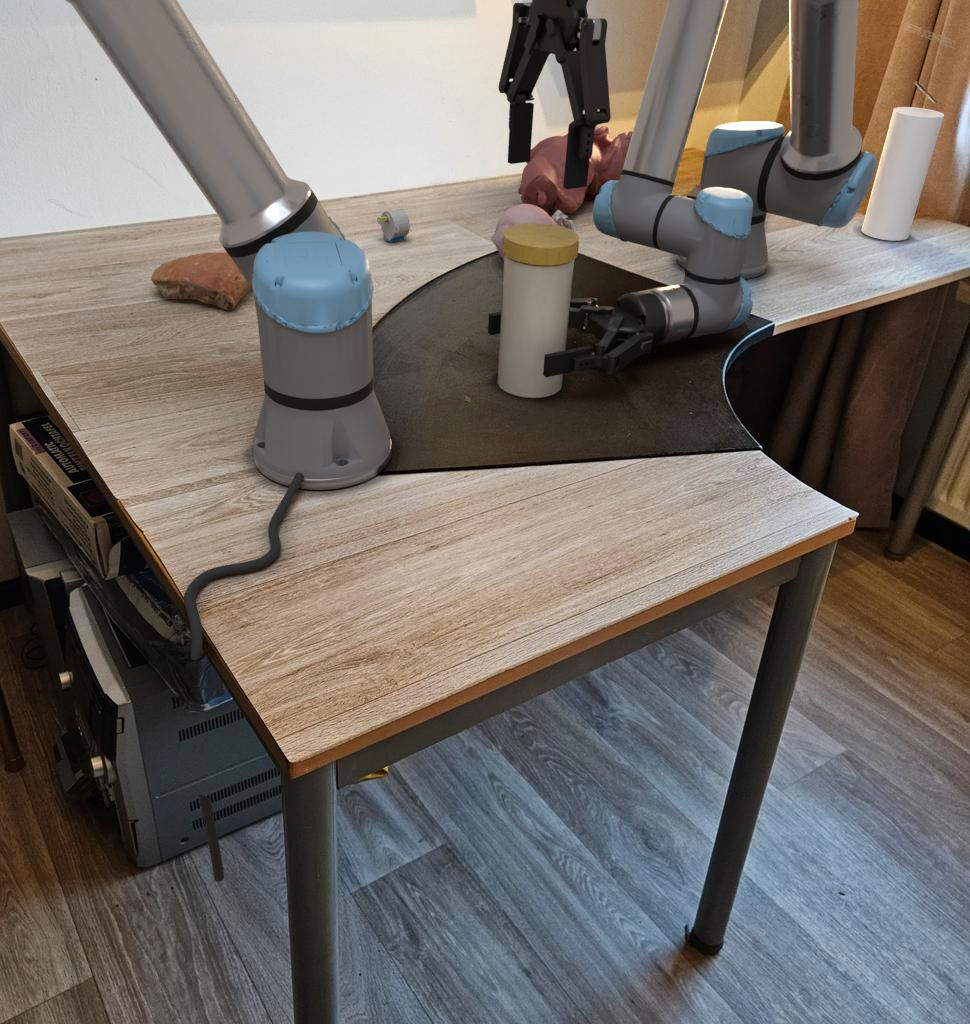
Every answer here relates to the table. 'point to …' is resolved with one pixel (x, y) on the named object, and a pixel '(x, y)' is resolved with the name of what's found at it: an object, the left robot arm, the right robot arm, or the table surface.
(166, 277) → the ceramic shard
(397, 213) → the electric motor
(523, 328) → the jar
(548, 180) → the reddish pink figurine
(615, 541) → the table surface
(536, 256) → the lid
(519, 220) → the toy
